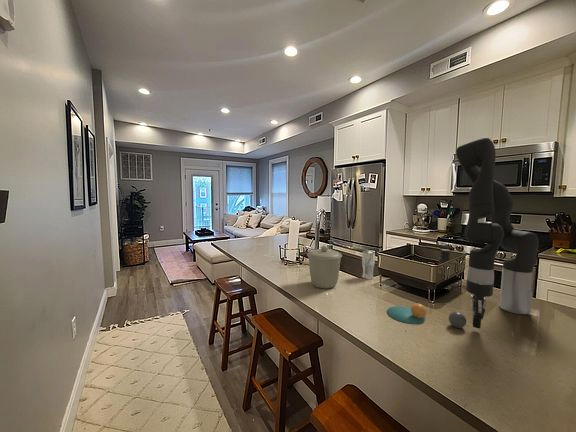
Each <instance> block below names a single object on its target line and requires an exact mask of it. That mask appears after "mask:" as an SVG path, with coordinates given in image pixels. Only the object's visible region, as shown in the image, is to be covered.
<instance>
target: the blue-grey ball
mask: <svg viewBox="0 0 576 432" xmlns="http://www.w3.org/2000/svg"><path fill="white" fill-rule="evenodd" d="M448 321H449V323H450V324H451V326H453V327H454V328H456V329H457V328H458V329H461V328H464V327H465V326H466V325H467V318H466V316H465V315H464V314H463V313H462V312H460V311H452V312H451V313H449V315H448Z"/></svg>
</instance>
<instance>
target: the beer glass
mask: <svg viewBox="0 0 576 432" xmlns="http://www.w3.org/2000/svg"><path fill="white" fill-rule="evenodd" d="M361 254H362V255H361V265H362V271H363V272H362V275H361V278H362V279H364V280H373V279H374V268H375V262H376V255H375V254H376V253H375V251H373V250H362V253H361Z"/></svg>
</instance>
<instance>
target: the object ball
mask: <svg viewBox="0 0 576 432" xmlns="http://www.w3.org/2000/svg"><path fill="white" fill-rule="evenodd" d="M410 308H411V313H412V315H413V316H414V317H416V318H423V317H425V318H426V315H427V309H426V307H425V306H424V305H423V304H421V303H414V304H412V305H411V307H410Z"/></svg>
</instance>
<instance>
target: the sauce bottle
mask: <svg viewBox="0 0 576 432" xmlns="http://www.w3.org/2000/svg"><path fill="white" fill-rule="evenodd" d="M450 253H451V250H450V249H448V248H447V249H446V248H441V249H440V259H439V260H438V262H437V265H438V264H441V263H444V262H446V261H449V260H450V261H451V258H450V256H451V255H450ZM451 288H452V285H451V286H449V287H448V290H447V291H450V290H451Z"/></svg>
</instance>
